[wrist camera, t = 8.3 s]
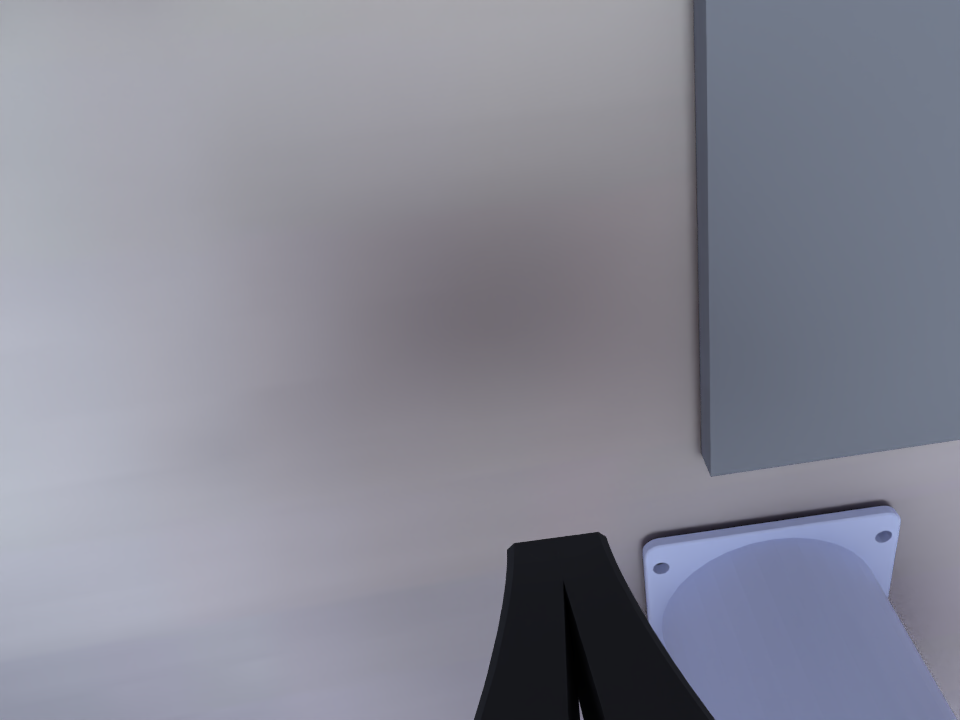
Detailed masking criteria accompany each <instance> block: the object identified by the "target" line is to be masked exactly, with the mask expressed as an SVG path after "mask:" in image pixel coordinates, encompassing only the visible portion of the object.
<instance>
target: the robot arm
mask: <svg viewBox="0 0 960 720" xmlns="http://www.w3.org/2000/svg"><path fill="white" fill-rule="evenodd" d="M900 524H901V519H900V516H899V515H898V513H897V512H896V510H895V509H894V508H893V507H890V506H877V507H870V508H863V509H857V510H850V511H843V512H836V513H829V514H822V515H815V516H808V517H801V518H795V519H788V520H781V521H774V522H767V523H760V524H753V525H746V526H739V527H733V528H726V529H719V530H712V531H705V532H698V533H691V534H684V535H677V536H670V537H664V538H657V539H653V540H651V541H649V542H648V543H646V545H645V546H644V547H643V564H644V578H645V591H646V604H647V617H648V620H647V619H646V617H645V615H644V614H643V612H642V610H641V609H640V607H639V605H638V603H637V601H636V600H635V598H634V596H633V594H632V592H631V591H630V589H629V587H628V585H627V583H626V581H625V579H624V577H623V575H622V573H621V571H620V569H619V567H618V565H617V563H616V561H615V558H614V556H613V554H612V552H611V549H610V547H609V544H608V541H607V538H606V537H605V536H604V535H602V534H600V533H599V532H594V533H587V534H580V535H572V536H565V537H557V538H550V539H542V540H535V541H528V542H520V543H514V544H513V545H512V546H511V547H510V548H509V549H508V550H507V573H506V584H505V592H504V598H503V605H502V610H501V616H500V621H499V627H498V631H497V636H496V640H495V644H494V648H493V653H492V657H491V661H490V665H489V670H488V674H487V677H486V681H485V685H484V688H483V692H482V695H481V698H480V702H479V705H478V708H477V711H476V715H475V718H474V720H580V713H579V702H580V706H581V710H582V714H583V718H584V720H957V719H956V717H955V715H954V713H953V712H952V710H951V708H950V706H949V705H948V703H947V701H946V699H945V698H944V696H943V694H942V692H941V691H940V689H939V687H938V685H937V684H936V682H935V680H934V679H933V677H932V675H931V673H930V672H929V670H928V668H927V666H926V665H925V663H924V661H923V659H922V658H921V656H920V654H919V652H918V651H917V649H916V647H915V645H914V644H913V642H912V640H911V638H910V637H909V635H908V633H907V631H906V630H905V628H904V626H903V624H902V623H901V621H900V619H899V617H898V616H897V614H896V612H895V610H894V609H893V607H892V605H891V603H890V602H889V600H888V596H889V590H890V584H891V578H892V572H893V566H894V560H895V554H896V548H897V542H898V536H899V530H900ZM879 532H880V533H879ZM658 563H663V564H660V565H656V564H658Z"/></svg>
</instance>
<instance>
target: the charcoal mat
mask: <svg viewBox="0 0 960 720" xmlns="http://www.w3.org/2000/svg"><path fill="white" fill-rule="evenodd" d="M694 52H695V108H696V165H697V221H698V277H699V334H700V390H701V446H702V456H703V459H704V461H705V464H706V466H707V468H708V471H709V473H710V476H711V477H712V476H719V475H725V474H732V473H739V472H746V471H752V470H759V469H766V468H773V467H779V466H786V465H793V464H799V463H806V462H813V461H820V460H826V459H833V458H840V457H847V456H853V455H860V454H867V453H873V452H880V451H887V450H894V449H900V448H907V447H914V446H921V445H927V444H934V443H941V442H947V441H954V440H960V0H694Z"/></svg>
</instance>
